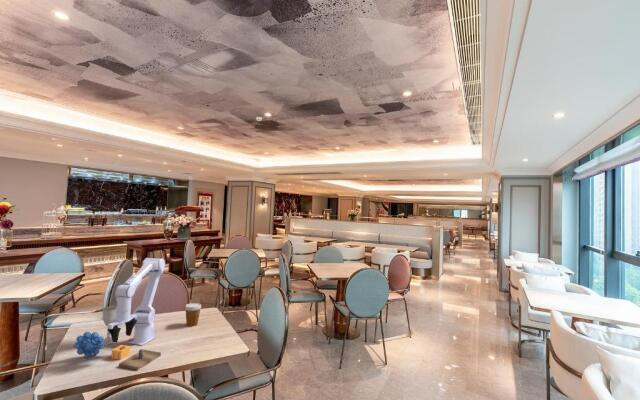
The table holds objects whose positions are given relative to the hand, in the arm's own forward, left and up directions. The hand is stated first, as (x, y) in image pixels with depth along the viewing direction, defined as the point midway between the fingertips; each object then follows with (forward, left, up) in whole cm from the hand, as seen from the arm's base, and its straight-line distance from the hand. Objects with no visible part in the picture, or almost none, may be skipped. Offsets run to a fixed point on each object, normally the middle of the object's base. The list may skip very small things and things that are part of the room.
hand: (121, 338), depth 143 cm
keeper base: (+1, +12, -8) cm, 15 cm away
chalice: (-10, -18, -9) cm, 22 cm away
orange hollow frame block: (0, 0, -8) cm, 9 cm away
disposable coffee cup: (-44, +8, -9) cm, 46 cm away
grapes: (+5, -13, -9) cm, 16 cm away
